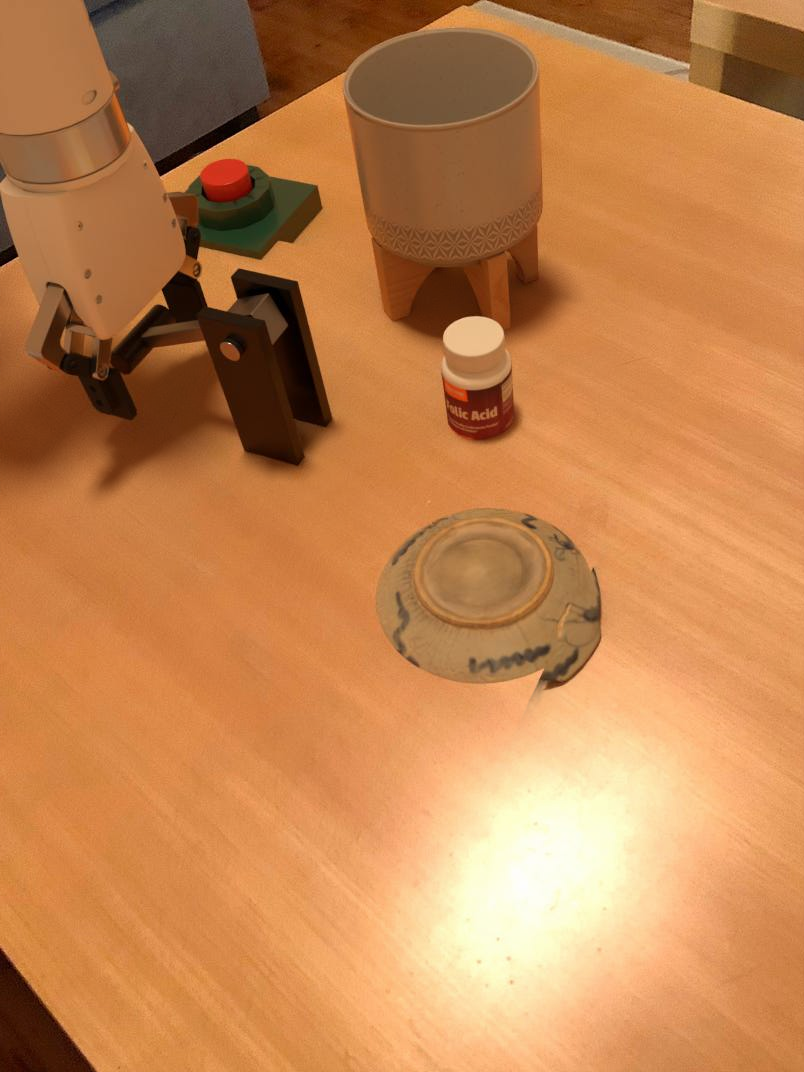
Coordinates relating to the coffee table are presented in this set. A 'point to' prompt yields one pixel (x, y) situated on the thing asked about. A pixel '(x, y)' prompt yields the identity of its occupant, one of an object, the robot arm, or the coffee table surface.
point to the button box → (256, 215)
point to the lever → (186, 330)
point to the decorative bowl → (490, 599)
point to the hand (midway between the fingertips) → (157, 368)
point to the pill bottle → (477, 378)
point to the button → (226, 180)
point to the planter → (448, 160)
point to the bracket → (267, 369)
